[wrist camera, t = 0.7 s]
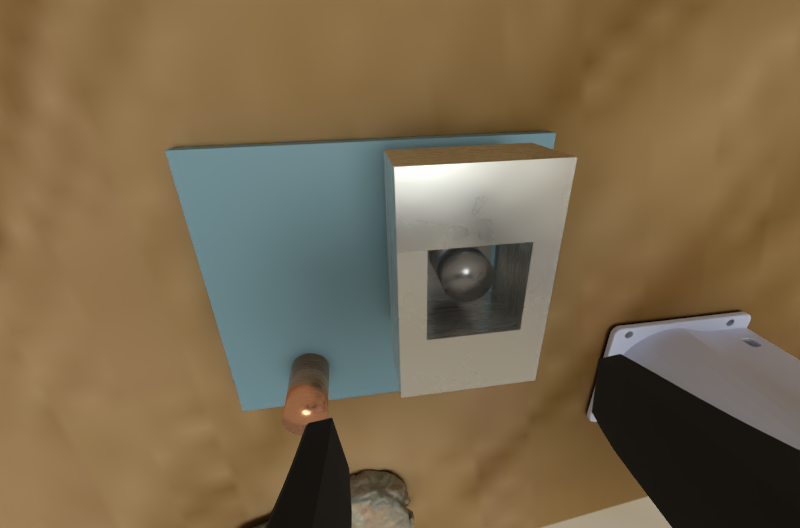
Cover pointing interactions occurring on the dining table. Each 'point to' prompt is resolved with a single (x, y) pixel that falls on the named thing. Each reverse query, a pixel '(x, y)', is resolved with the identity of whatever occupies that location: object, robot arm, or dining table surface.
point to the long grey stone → (377, 501)
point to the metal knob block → (460, 272)
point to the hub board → (301, 255)
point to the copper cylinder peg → (306, 392)
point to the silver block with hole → (469, 227)
